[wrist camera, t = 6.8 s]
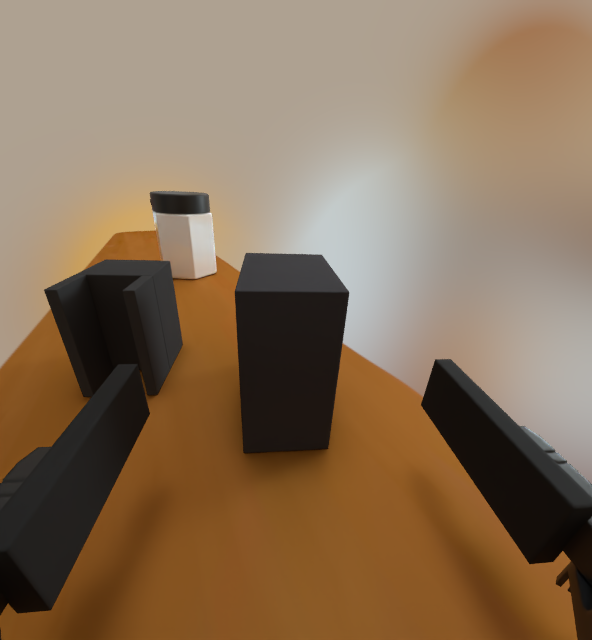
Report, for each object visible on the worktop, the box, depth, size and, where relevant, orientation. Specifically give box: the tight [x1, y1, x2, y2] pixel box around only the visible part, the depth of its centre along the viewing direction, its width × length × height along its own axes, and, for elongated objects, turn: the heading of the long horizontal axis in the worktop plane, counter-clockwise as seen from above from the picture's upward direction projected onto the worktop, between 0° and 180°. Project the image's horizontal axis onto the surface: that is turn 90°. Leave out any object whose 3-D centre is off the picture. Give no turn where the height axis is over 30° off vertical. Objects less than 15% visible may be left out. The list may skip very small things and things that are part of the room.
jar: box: [150, 191, 217, 279], centre depth 44 cm, size 9×8×12 cm
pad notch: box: [44, 260, 183, 397], centre depth 21 cm, size 7×5×8 cm
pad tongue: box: [235, 253, 349, 453], centre depth 19 cm, size 10×5×10 cm, turn 5°
